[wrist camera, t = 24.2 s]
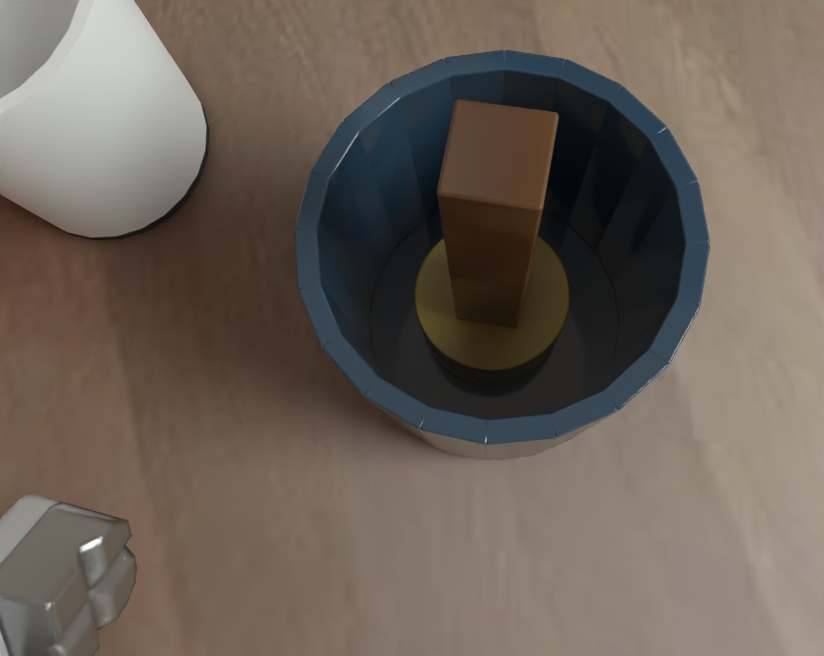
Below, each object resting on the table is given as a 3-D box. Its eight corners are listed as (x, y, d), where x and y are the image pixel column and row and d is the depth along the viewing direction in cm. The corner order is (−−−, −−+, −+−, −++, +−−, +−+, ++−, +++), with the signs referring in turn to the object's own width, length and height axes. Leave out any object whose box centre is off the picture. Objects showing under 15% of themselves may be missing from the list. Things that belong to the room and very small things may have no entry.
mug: (231, 231, 30) (107, 102, 20) (18, 269, 31) (-205, 161, 21) (207, -6, 33) (85, -226, 23) (10, 32, 33) (-194, -165, 23)
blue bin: (651, 220, 29) (736, 83, 19) (603, 488, 27) (672, 486, 17) (391, 174, 30) (348, 24, 21) (329, 426, 28) (249, 392, 19)
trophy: (569, 264, 28) (651, 49, 14) (547, 397, 27) (614, 302, 13) (436, 243, 29) (394, 18, 15) (410, 372, 28) (341, 257, 14)
